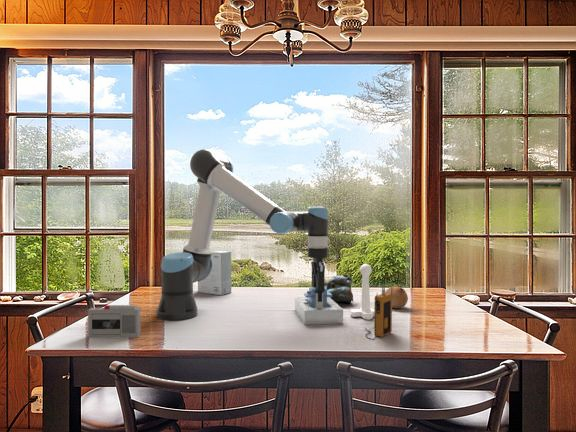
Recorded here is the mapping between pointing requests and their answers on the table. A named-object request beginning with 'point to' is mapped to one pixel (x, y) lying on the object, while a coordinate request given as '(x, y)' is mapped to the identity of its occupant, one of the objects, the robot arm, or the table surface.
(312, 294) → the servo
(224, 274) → the hard drive box
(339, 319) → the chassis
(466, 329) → the table surface
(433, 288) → the table surface
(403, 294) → the onion
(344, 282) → the dark grey rock
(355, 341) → the table surface
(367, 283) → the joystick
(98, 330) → the cassette player
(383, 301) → the multimeter
